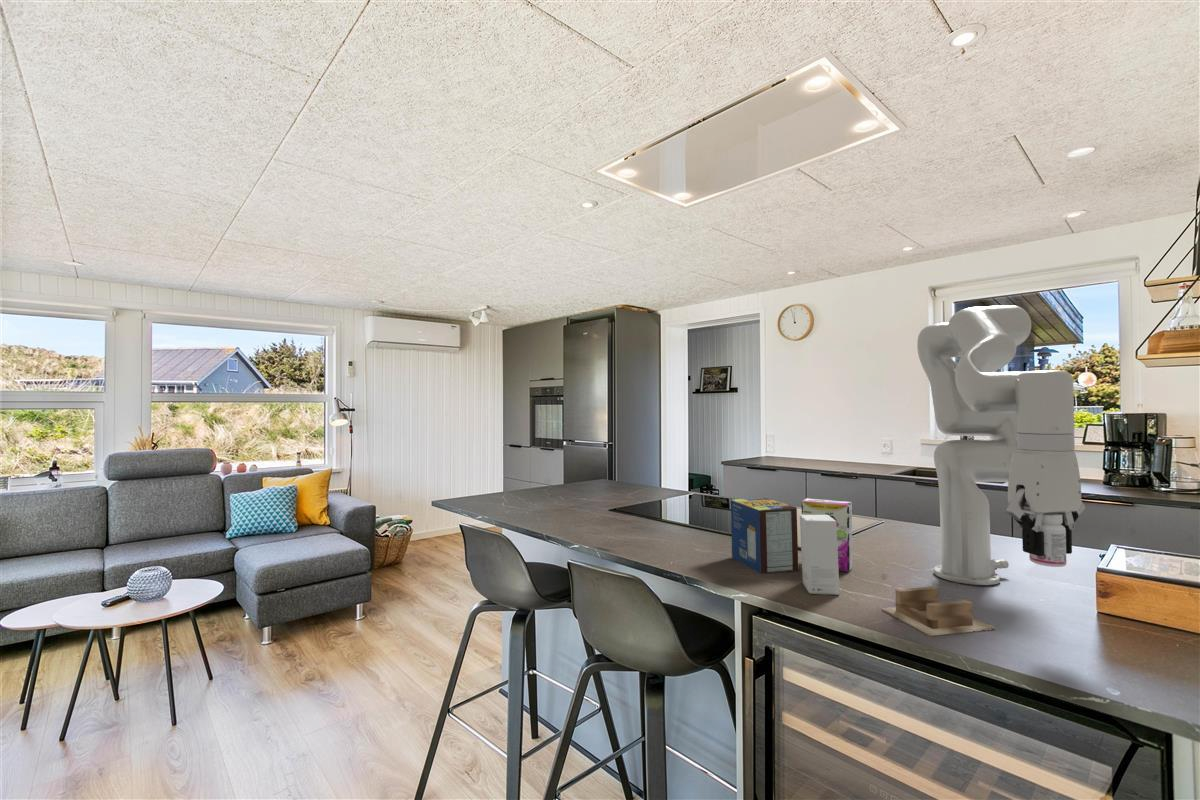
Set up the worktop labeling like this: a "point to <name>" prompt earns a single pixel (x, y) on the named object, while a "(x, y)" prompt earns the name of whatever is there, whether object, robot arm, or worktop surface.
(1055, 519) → the pill bottle
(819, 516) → the skincare box
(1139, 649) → the worktop surface
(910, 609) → the cradle
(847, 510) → the candy bar box
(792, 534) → the protein box
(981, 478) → the robot arm
